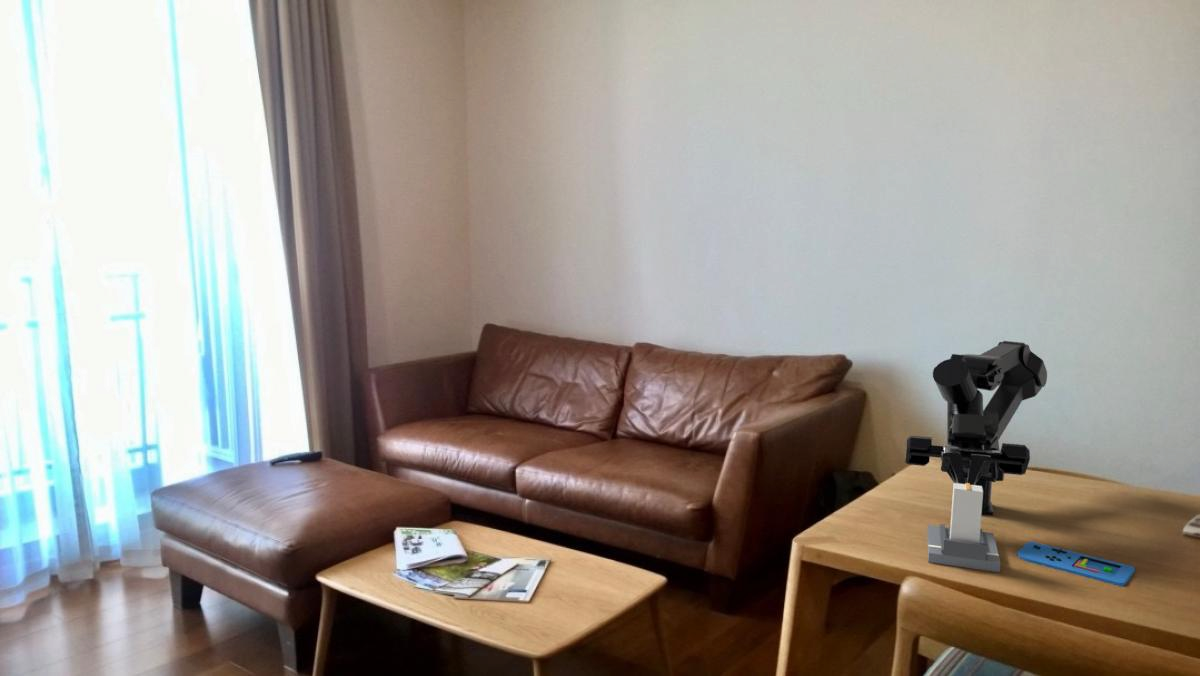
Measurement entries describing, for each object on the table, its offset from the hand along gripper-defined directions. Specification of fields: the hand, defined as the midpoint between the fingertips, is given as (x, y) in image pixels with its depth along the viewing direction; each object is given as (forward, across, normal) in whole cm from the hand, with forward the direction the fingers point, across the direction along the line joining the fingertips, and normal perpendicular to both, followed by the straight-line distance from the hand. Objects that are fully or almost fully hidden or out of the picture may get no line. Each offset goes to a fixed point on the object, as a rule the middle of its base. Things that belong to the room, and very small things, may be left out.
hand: (965, 500), depth 135 cm
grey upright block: (+9, 0, -2) cm, 9 cm away
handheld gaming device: (+8, +16, +4) cm, 18 cm away
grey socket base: (+8, 0, +2) cm, 8 cm away
